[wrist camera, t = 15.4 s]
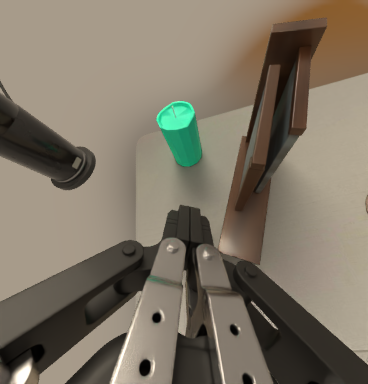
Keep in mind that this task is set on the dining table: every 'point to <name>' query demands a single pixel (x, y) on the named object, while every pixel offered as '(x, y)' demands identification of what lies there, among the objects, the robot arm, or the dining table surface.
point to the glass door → (259, 139)
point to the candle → (181, 132)
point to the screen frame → (272, 132)
